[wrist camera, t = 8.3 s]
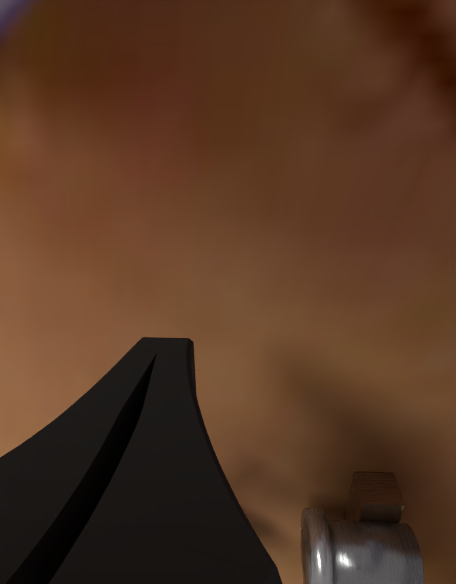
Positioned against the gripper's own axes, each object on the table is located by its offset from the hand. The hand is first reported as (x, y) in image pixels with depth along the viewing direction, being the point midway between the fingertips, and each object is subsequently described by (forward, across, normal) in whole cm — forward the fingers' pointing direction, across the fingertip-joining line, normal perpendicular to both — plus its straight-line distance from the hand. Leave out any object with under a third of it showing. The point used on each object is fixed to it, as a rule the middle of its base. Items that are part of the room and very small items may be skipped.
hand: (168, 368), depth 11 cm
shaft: (+9, -9, +18) cm, 22 cm away
